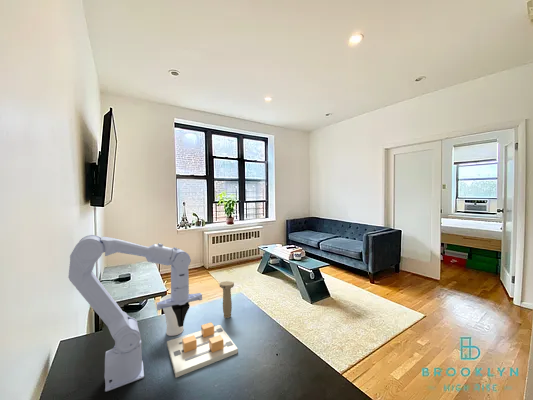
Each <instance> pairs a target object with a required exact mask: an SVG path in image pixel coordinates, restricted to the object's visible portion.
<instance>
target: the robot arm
mask: <svg viewBox="0 0 533 400" xmlns="http://www.w3.org/2000/svg"><path fill="white" fill-rule="evenodd" d="M103 253H104V257H108V256H110V255H114V254H116V253H120V254H126V255H133V256H137V257H144V258H145V259H146V261H147V262H148V263H153V264H156V265H158V264H159V265H162V266H170V294H171V298H169V299H166V300H164V301H161V302H160V301H158V302H156V305H155V306H156V311H157V312H158V311H161V310H163V308H167V307H172V309H173V311H174V313H175V315H176V318H177V322H178V326H179V327H182V326H183V327H184V323H185V319H186V316H187V313H188V311H189V309H190V305H191V304H190V303H191V302H195V301H203V294H202V293H201V292H198V293H189V292H190V288H189V287H190V280H189V279H190V277H189V275H190V274H189V266H190V265H191V262H192V259H191V257H190V254H189V253H187V251H185V250H183V249H180V248H177V247H174V246H173V247H168V246H164V244H163V243H160V242H159V243H153V244H151V245H149V246H147V245H142V244H138V243H135V242H131V241H127V240H123V239H119V238H116V237H115V238H114V237H110V236H98V235H95V234H89V235H86V236H84V237H82V238H81V239H79V241H78V243H77V244H75V246H74V248H73V249H72V251H71V253H70V255H69V269H68V277H67V278H68V279H69V281H70V282H71V284H72V285H73V286H74V287H75V289H76V290H77V291H78V292H79V294H80V295H81V296H82V297H83V298H84V300H85V301H86V302H87V303H88V305H89V306H90V307H91V309H93V311H94V312H95V313H96V314H97V315H98V316H99V318H100V319H101V320H102V322H103V323H104V324H105V325H106V327H107V329H108V330H109V333H110V335H111V337H112V339H113V340H114V343H115V344H114V346H113V348H110V349H109V350H106V351H105V356H104V383H105V384H104V385H105V388H104V392H109V391H112V390H115V389H117V388H120V387H123V386H125V385H128V384H130V383H133V382H137V381H138V380H141V379H143V378H144V377H145V372H144V369H145V368H144V362H143V360H142V359H143V357H142V356H143V355H142V351H143V350H142V337H141V336H142V335H141V332H140V329H139V326H138V325H139V322H138V320H137V319H136V318H134V317H131V316H130V315H129V314H128V313H127V312H125V311H123V310H122V308H121V307H120V306H119V304H118V303H117V301H116V300H115V299H114V297H112V295H111V294H110V292H109V291H108V290H107V289H106V288H105V286H104V285H103V284H102V282H101V281H100V280H99V278H98V277H97V276H96V274H94V272H93V270H94V267H95V264H96V263H97V261H99V259H100V258H101V257H102V254H103Z"/></svg>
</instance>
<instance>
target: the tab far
mask: <svg viewBox="0 0 533 400" xmlns="http://www.w3.org/2000/svg"><path fill="white" fill-rule="evenodd" d="M214 326H215V325H214V324H213V323H212V321H211V322H207V323H204V324H201V325H200V327H201V329H200V331H201V333H202V335H203V337H206V336H209V335H212V334H214Z"/></svg>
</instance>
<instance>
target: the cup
mask: <svg viewBox="0 0 533 400" xmlns="http://www.w3.org/2000/svg"><path fill="white" fill-rule="evenodd" d="M169 298H171V293H169V294H167V295H164V296H162V297H161V298H160V299H159V302H161V301H164V300H166V299H169ZM162 310H163V312H164V317H165V323H166V332H165V334H166V335H167V336H169V337H175V336H177V335H180V334H182V333H183V331H184V330H185V329H184V325H183V326H182V327H179V326H178V322H177V318H176V315H175V313H174V311H173V309H172V307H167V308H163V309H162Z"/></svg>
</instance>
